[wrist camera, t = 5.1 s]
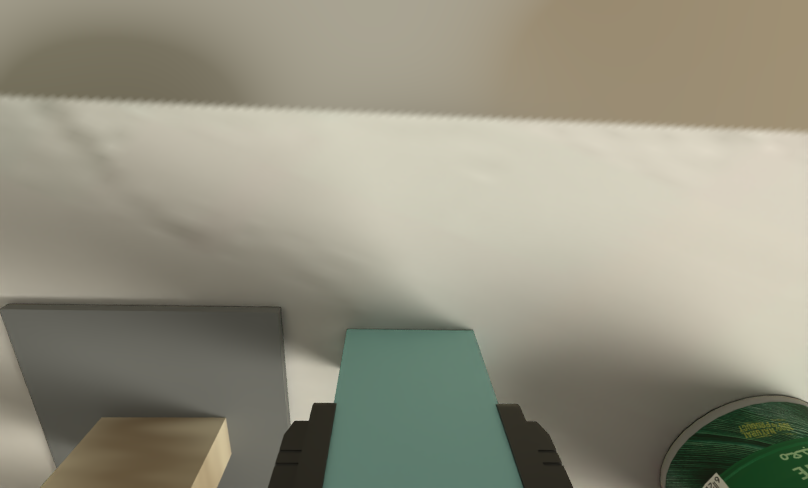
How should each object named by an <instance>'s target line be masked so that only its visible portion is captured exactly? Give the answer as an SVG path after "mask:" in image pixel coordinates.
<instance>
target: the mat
mask: <svg viewBox="0 0 808 488" xmlns="http://www.w3.org/2000/svg"><path fill="white" fill-rule="evenodd" d="M0 313H1V316H2V319H3V321H4V324H5V327H6V330H7V332H8V335H9V338H10V341H11V344H12V346H13V349H14V352H15V355H16V357H17V360H18V363H19V366H20V368H21V371H22V374H23V377H24V379H25V382H26V385H27V388H28V390H29V393H30V396H31V399H32V401H33V404H34V407H35V410H36V412H37V415H38V418H39V421H40V424H41V426H42V429H43V432H44V435H45V437H46V440H47V443H48V446H49V448H50V451H51V454H52V457H53V459H54V462H55V465H56V468H58V467H59V466H60V464H61V463H62V462H63V461H64V460H65V459H66V458H67V456H68V455H69V454H70V453H71V452H72V451H73V450H74V448H75V447H76V446H77V445H78V444H79V443H80V441H81V440H82V439H83V438H84V437H85V436H86V435H87V433H88V432H89V431H90V430H91V429H92V428H93V427H94V425H95V424H96V423H97V422H98V421H99V420H100V419H101V417H179V418H226V421H227V428H228V434H229V441H230V447H231V456H230V459H229V461H228V463H227V466H226V468H225V470H224V473H223V475H222V477H221V479H220V482H219V484H218V486H217V488H268V485H269V482H270V479H271V475H272V472H273V469H274V466H275V462H276V459H277V456H278V453H279V449H280V446H281V442H282V439H283V436H284V434H285V432H286V431H287V430H288V429H289V428H290V415H289V403H288V391H287V379H286V368H285V356H284V344H283V332H282V320H281V309H280V307H217V306H138V305H58V304H8V305H6V306H4V307H2V308H1V309H0Z"/></svg>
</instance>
